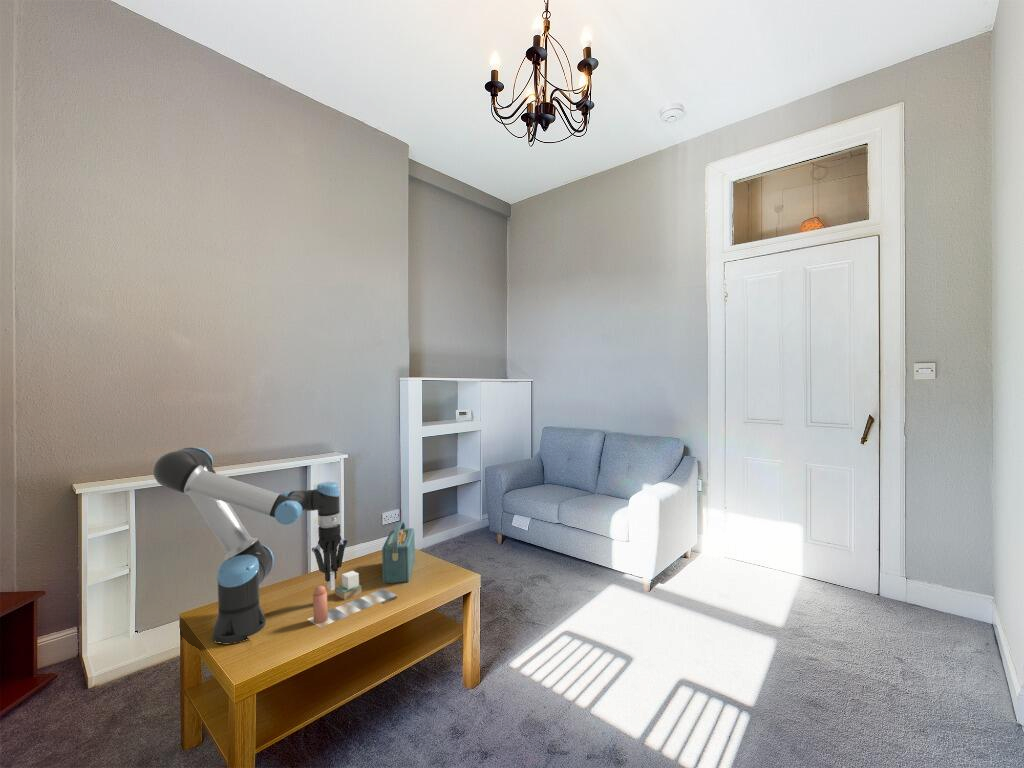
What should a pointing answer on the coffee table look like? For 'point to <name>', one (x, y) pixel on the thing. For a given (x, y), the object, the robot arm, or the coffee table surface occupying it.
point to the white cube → (350, 579)
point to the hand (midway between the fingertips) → (331, 588)
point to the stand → (347, 592)
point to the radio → (398, 555)
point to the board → (356, 606)
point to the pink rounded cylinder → (320, 605)
